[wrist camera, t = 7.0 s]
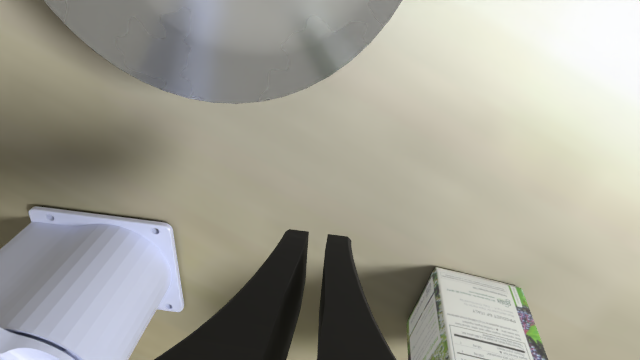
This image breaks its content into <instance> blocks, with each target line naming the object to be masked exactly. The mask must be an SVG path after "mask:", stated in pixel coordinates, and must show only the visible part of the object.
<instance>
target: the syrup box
mask: <svg viewBox="0 0 640 360" xmlns="http://www.w3.org/2000/svg"><path fill="white" fill-rule="evenodd" d="M407 345H408V360H548V358H547V355H546V353H545V350H544V347H543V345H542V342H541V339H540V336H539V333H538V331H537V328H536V326H535V323H534V320H533V318H532V315H531V312H530V310H529V307H528V304H527V302H526V299H525V296H524V293H523V291H522V289H521V288H519V287H517V286H513V285H510V284H506V283H502V282H498V281H494V280H489V279H485V278H482V277H477V276H473V275H469V274H465V273H460V272H456V271H451V270H447V269H443V268H439V267H436V268H435V269H434V270H433V272H432V274H431V276H430V278H429V280H428V282H427V284H426V286H425V288H424V290H423V292H422V294H421V296H420V298H419V300H418V302H417V304H416V306H415V307H414V310H413V311H412V313H411V315H410V317H409V319H408V321H407Z"/></svg>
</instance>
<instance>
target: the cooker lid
mask: <svg viewBox="0 0 640 360" xmlns="http://www.w3.org/2000/svg"><path fill="white" fill-rule="evenodd" d="M44 1H45V2H46V4H47V5H48V6H49V7H50V9H51V10H52V11H53V12H54V13H55V14H56V15H57V16H58V17H59V18H60V19H61V20H62V21H63V23H64V24H65V25H66V26H67V27H68V28H69V29H70V30H71V31H72V32H73V33H74V34H75V35H77V36H78V37H79V38H80V39H81V40H82V41H83V42H85V43H86V44H87V45H88V46H89V47H90V48H92V49H93V50H94V51H95V52H96V53H98V54H99V55H101V56H102V57H103V58H105V59H106V60H108V61H109V62H111V63H112V64H113V65H115V66H116V67H118V68H119V69H121V70H123V71H125V72H126V73H128V74H130V75H132V76H133V77H135V78H137V79H139V80H140V81H143V82H145V83H147V84H150V85H152V86H154V87H156V88H159V89H161V90H163V91H166V92H170V93H173V94H176V95H179V96H183V97H186V98H190V99H196V100H201V101H207V102H213V103H233V104H238V103H250V102H261V101H266V100H270V99H275V98H280V97H284V96H287V95H289V94H292V93H295V92H298V91H300V90H303V89H306V88H308V87H310V86H312V85H314V84H316V83H317V82H319V81H321V80H323V79H325V78H327V77H329V76H330V75H332V74H333V73H334V72H336V71H337V70H339V69H340V68H342V67H343V66H344V65H346V64H347V63H349V62H350V61H351V60H352V59H353V58H354V57H355V56H356V55H358V54H359V53H360V52H361V51H362V50H363V49H364V48H365V47H366V46H367V45H368V44H369V43H371V41H372V40H373V39H374V38H375V37H376V35H377V34H378V33H379V32H380V31H381V29H382V28H383V27H384V26H385V25H386V23H387V22H388V21H389V20H390V18H391V17H392V15H393V14H394V12H395V11H396V9H397V8H398V6H399V5H400V3H401V1H402V0H44Z"/></svg>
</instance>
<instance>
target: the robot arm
mask: <svg viewBox="0 0 640 360" xmlns="http://www.w3.org/2000/svg"><path fill="white" fill-rule="evenodd" d="M29 216H30V219H31V223H30V224H29V225H27V226H26V227H25V228H24V229H23V230H22V231H21V232H19V233H18V234H17V235H16V236H15V237H14V238H13V239H11V240H10V241H9V242H8V243H7V244H6V245H4V246H3V247H2V248H1V249H0V360H128V359H129V357H130V355H131V353H132V352H133V350H134V348H135V346H136V345H137V343H138V341H139V339H140V338H141V336H142V334H143V332H144V331H145V329H146V327H147V325H148V324H149V322H150V320H151V318H152V317H153V315H154V313H155V311H156V309H159V310H167V311H174V312H180V311H182V309H183V307H184V300H183V294H182V287H181V281H180V274H179V268H178V261H177V254H176V248H175V241H174V235H173V229H172V227H171V226H170V225H169V224H167V223H164V222H157V221H149V220H141V219H133V218H125V217H117V216H109V215H101V214H93V213H85V212H78V211H70V210H62V209H54V208H46V207H38V206H34V207H33V208H31V209H30V210H29ZM155 228H157V229H158V230H156V229H155ZM308 233H309V232H306V231H298V230H290V229H289V230H288V231H286V232H285V234H284V235H283V237H282V239H281V240H280V242H279V243H278V245H277V246H276V248H275V249H274V251H273V252H272V253H271V255H270V256H269V257H268V259H267V260H266V261H265V262H264V264H263V265H262V266H261V267H260V268H259V270H258V271H257V272H256V273H255V275H254V276H253V277H252V278H251V279H250V280H249V281H248V282H247V283H246V284H245V286H244V287H243V288H242V289H241V290H240V291H239V292H238V293H237V294H236V295H235V296H234V297H233V298H232V299H231V300H230V301H229V302H228V303H227V304H226V305H225V306H224V307H223V308H222V309H220V310H219V311H218V312H217V313H216V314H215V315H214V316H213V317H211V318H210V319H209V320H208V321H207V322H205V323H204V324H203V325H202V326H200V327H199V328H198V329H197V330H196V331H194V332H193V333H192V334H190V335H189V336H188V337H186V338H185V339H184V340H182V341H181V342H179V343H178V344H176V345H175V346H173V347H172V348H171V349H169V350H168V351H166V352H165V353H163V354H162V355H161V356H159V357H157V358H156V359H154V360H286V358H287V355H288V351H289V348H290V344H291V341H292V337H293V334H294V330H295V327H296V323H297V320H298V316H299V312H300V308H301V303H302V297H303V291H304V285H305V278H306V263H307V248H308ZM317 360H396V358H395V357H394V355H393V353H392V352H391V350H390V348H389V346H388V344H387V343H386V341H385V339H384V337H383V335H382V333H381V331H380V329H379V327H378V325H377V323H376V321H375V319H374V317H373V314H372V312H371V310H370V307H369V305H368V303H367V300H366V298H365V295H364V292H363V289H362V286H361V283H360V280H359V278H358V274H357V271H356V267H355V263H354V259H353V255H352V248H351V240H350V239H349V238H348V237H346V236H338V235H330V234H328V237H327V243H326V249H325V258H324V268H323V279H322V289H321V300H320V310H319V331H318V356H317Z"/></svg>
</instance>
